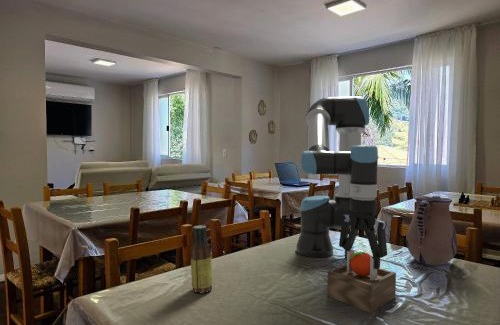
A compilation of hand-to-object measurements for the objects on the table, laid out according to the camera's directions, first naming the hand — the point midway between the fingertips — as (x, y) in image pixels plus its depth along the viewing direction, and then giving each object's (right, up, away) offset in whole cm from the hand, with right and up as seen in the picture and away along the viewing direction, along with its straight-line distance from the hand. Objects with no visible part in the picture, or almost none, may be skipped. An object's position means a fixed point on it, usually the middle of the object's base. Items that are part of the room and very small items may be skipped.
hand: (361, 275), depth 103 cm
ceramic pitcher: (+35, -5, +30) cm, 46 cm away
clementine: (0, 0, 0) cm, 1 cm away
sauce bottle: (-48, -6, +5) cm, 49 cm away
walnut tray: (0, -6, 0) cm, 7 cm away
